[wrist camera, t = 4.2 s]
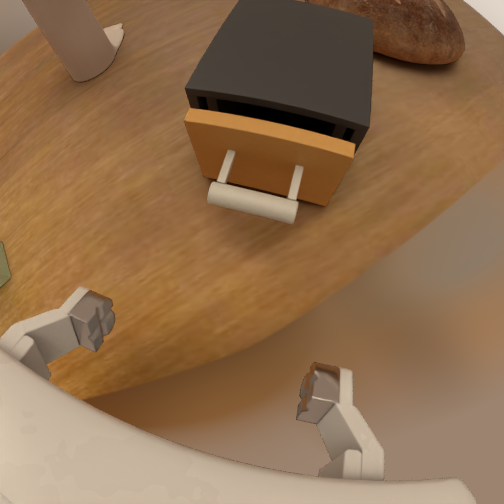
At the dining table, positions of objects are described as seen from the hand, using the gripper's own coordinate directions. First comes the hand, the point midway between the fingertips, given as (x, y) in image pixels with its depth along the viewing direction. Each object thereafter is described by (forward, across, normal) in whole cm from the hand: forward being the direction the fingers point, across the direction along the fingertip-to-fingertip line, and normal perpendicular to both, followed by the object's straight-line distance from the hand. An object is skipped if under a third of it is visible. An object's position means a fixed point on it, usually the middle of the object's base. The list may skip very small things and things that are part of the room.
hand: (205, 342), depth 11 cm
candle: (+32, +31, -11) cm, 46 cm away
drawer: (+22, +1, -2) cm, 22 cm away
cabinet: (+26, +1, -5) cm, 26 cm away
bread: (+46, -10, -25) cm, 53 cm away
